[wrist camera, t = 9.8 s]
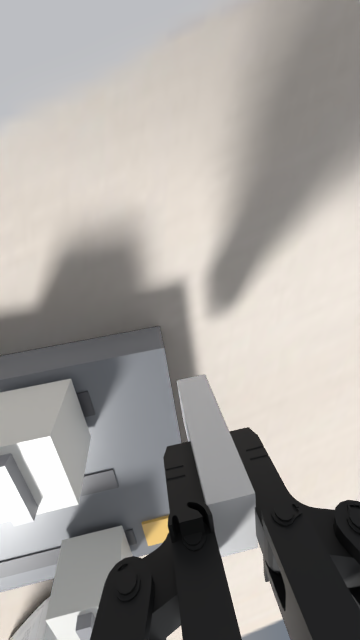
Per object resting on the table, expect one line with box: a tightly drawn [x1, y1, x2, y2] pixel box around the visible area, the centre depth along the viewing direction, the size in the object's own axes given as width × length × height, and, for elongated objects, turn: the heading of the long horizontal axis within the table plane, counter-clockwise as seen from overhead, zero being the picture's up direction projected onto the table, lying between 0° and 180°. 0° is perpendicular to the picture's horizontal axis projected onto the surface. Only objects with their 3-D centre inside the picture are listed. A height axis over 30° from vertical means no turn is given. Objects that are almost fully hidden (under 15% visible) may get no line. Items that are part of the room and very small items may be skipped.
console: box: [0, 326, 181, 592], centre depth 19 cm, size 22×17×3 cm
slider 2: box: [45, 525, 132, 640], centre depth 18 cm, size 4×4×5 cm
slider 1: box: [0, 379, 91, 526], centre depth 13 cm, size 4×4×5 cm
